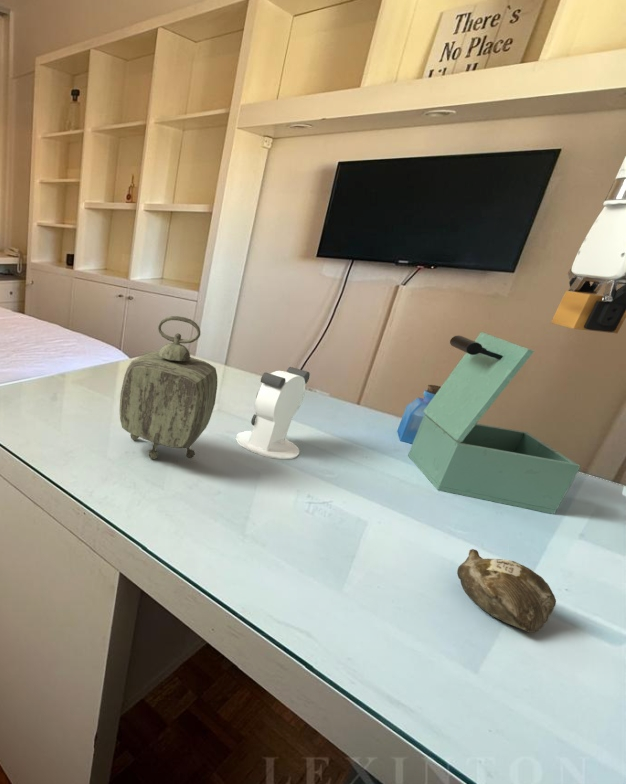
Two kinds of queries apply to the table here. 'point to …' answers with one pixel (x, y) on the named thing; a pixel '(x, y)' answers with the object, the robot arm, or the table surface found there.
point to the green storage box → (494, 465)
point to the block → (578, 310)
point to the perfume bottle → (415, 415)
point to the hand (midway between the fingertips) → (584, 325)
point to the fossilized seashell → (507, 591)
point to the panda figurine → (275, 414)
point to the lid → (475, 382)
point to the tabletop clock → (168, 395)
